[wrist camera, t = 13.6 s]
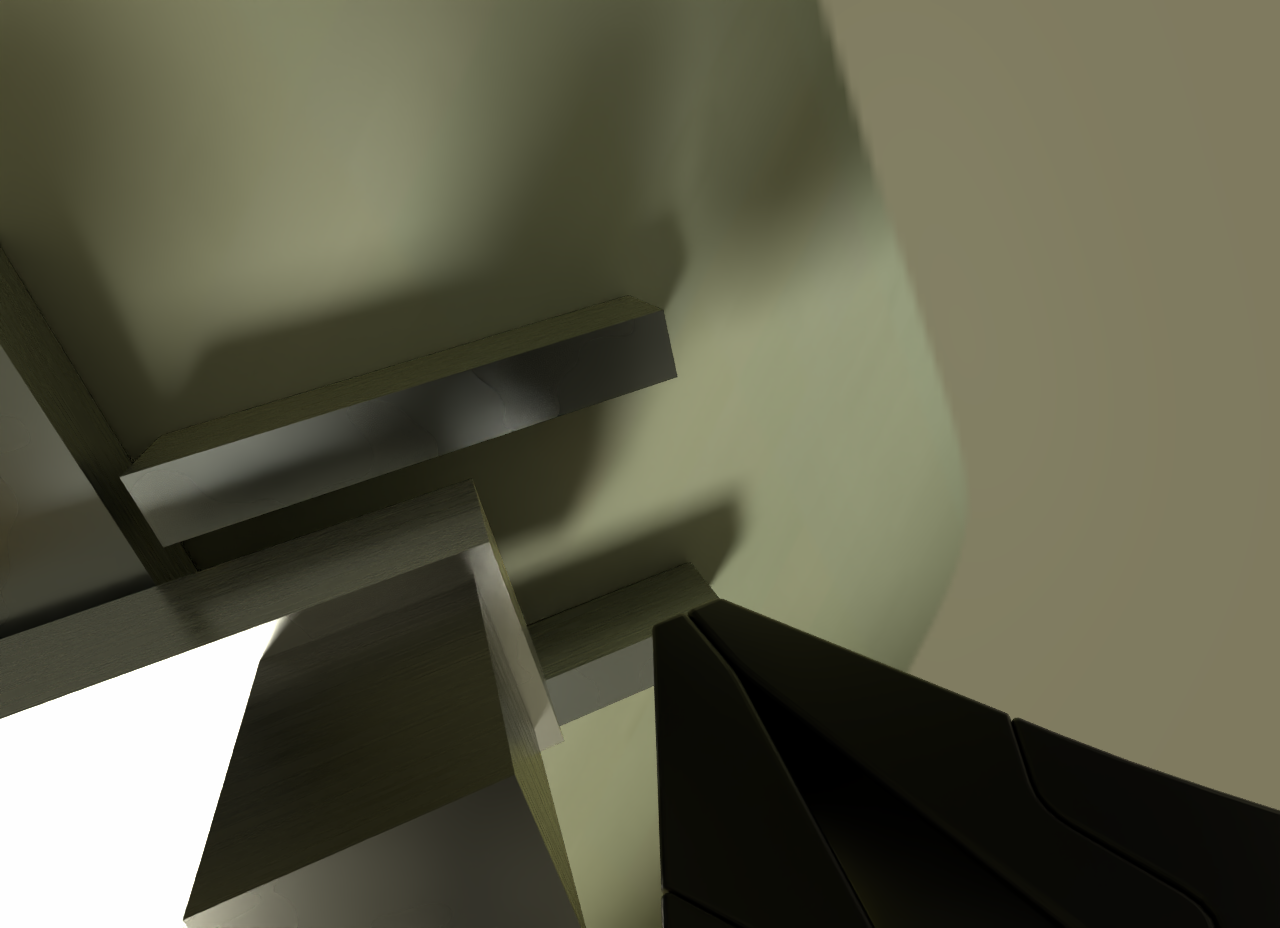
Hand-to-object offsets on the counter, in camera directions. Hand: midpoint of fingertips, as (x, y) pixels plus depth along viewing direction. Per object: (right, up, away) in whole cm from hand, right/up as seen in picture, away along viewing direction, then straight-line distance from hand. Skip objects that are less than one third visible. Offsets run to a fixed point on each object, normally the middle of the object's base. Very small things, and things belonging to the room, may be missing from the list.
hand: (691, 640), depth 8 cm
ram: (-7, -1, +1) cm, 7 cm away
